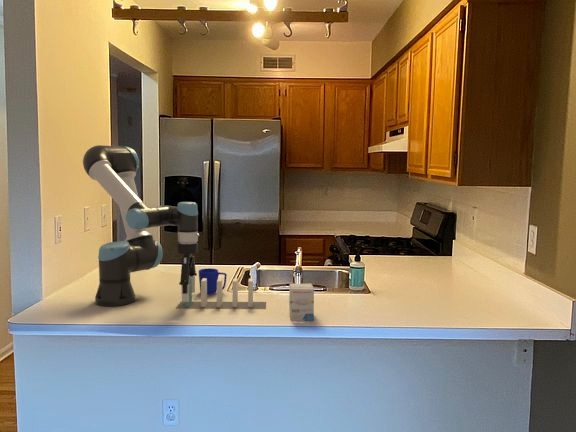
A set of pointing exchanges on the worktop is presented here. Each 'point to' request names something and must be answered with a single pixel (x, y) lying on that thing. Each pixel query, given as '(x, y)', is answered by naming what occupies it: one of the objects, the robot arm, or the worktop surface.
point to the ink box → (301, 302)
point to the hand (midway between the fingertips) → (188, 296)
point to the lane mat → (224, 305)
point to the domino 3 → (235, 292)
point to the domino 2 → (219, 292)
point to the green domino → (189, 293)
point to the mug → (211, 279)
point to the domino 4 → (250, 293)
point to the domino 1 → (204, 292)
